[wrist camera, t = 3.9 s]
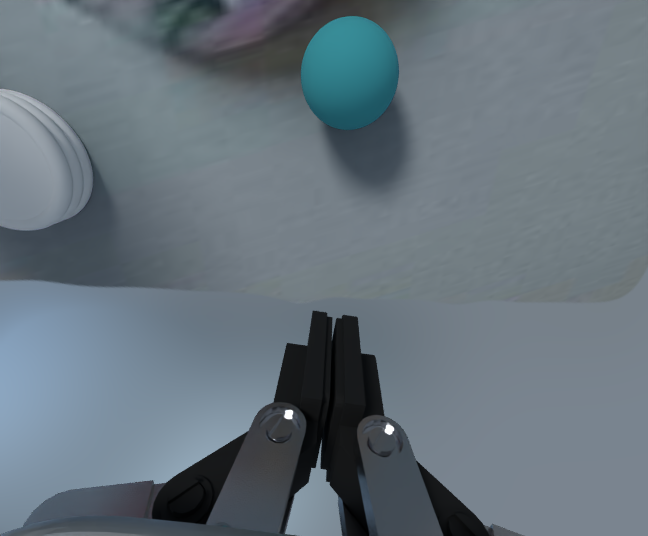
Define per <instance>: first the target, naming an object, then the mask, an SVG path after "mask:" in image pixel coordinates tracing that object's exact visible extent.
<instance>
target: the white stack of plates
mask: <svg viewBox="0 0 648 536" xmlns="http://www.w3.org/2000/svg"><path fill="white" fill-rule="evenodd" d="M92 189H93V171H92V166H91V162H90V159H89V156H88V154H87V151H86V149H85V147H84V145H83V143H82V142H81V140H80V139H79V137H78V136H77V134H76V133H75V132H74V130H73V129H72V128H71V127H70V125H69V124H68V123H67V122H66V121H65V120H64V119H63V118H62V117H61V116H60V115H58V114H57V113H56V112H55V111H54V110H52V109H51V108H49V107H48V106H46V105H45V104H43V103H42V102H40V101H38V100H36V99H34V98H32V97H30V96H27V95H25V94H22V93H19V92H16V91H12V90H6V89H0V226H2V227H5V228H9V229H14V230H22V231H31V230H40V229H44V228H47V227H49V226H51V225H53V224H56V223H59V222H61V221H63V220H66V219H69V218H71V217H73V216H75V215H76V214H77V213H79V212H80V211H81V210H82V209H83V208H84V207H85V205H86V204H87V202H88V200H89V198H90V196H91V193H92Z"/></svg>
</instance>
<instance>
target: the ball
mask: <svg viewBox="0 0 648 536" xmlns="http://www.w3.org/2000/svg"><path fill="white" fill-rule="evenodd" d="M398 77H399V64H398V58H397V54H396V51H395V48H394V45H393V43H392V41H391V40H390V38H389V36H388V35H387V34H386V32H385V31H384V30H383V29H382V28H381V27H380V26H379V25H377V24H376V23H374V22H372V21H370V20H368V19H366V18H362V17H357V16H347V17H342V18H338V19H336V20H333V21H331V22H329V23H328V24H326V25H325V26H324V27H322V28H321V29H320V30H319V31H318V32H317V33H316V34H315V36H314V37H313V38H312V40H311V41H310V43H309V45H308V47H307V49H306V51H305V54H304V57H303V61H302V67H301V83H302V89H303V93H304V96H305V99H306V101H307V103H308V105H309V107H310V109H311V110H312V111H313V113H314V114H315V115H316V116H317V117H318V118H319V119H320V120H321V121H323V122H324V123H326V124H327V125H329V126H331V127H334V128H337V129H342V130H354V129H359V128H362V127H365V126H367V125H369V124H371V123H372V122H374V121H375V120H376V119H378V118H379V117H380V116H381V115H382V114H383V113H384V112H385V110H386V109H387V108H388V106H389V105H390V103H391V101H392V99H393V97H394V94H395V91H396V88H397V84H398Z"/></svg>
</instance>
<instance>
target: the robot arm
mask: <svg viewBox="0 0 648 536" xmlns="http://www.w3.org/2000/svg"><path fill="white" fill-rule="evenodd" d="M321 440H322V448H321V469H326V470H327V475H326V481H327V482H330V486H331V487H332V488H333V489H334V491H335V492H336V493H337V494H338V506H339V514H340V522H341V530H342V536H523V535H520V534H518V533H515V532H513V531H510V530H507V529H505V528H502V527H500V526H497V525H494V524H492V525H491V527H488V526H485V525H483V523H482V522H481V521H480V520H479V519H478V518H477V517H476V515H475V514H474V513H472V512H471V511H470V510H469V509H468V508H467V507H466V506H465V505H464V504H463V503H462V502H461V501H460V500H458V499H457V498H456V497H455V496H454V495H453V494H452V493H451V492H450V491H449V490H447V488H445V487H444V486H443V485H442V484H441V483H440V482H439V481H438V480H437V479H436V478H435V477H434V476H432V475H431V474H430V473H429V472H428V471H427V470H426V469H425V468H424V467H423V466H422V465H420V463H418V462H417V461H416V459H415V456H414V454H413V451H412V449H411V445H410V443H409V440H408V437H407V436H406V434H405V432H404V430H403V429H402V428H401V426H400V425H399V424H397V423H396V422H395V421H393V420H392V419H390V418H388V417H385V416H384V410H383V404H382V397H381V390H380V383H379V377H378V370H377V363H376V358H375V356H374V355H369V354H362V353H361V349H360V338H359V327H358V318H357V317H354V316H347V315H343V316H342V319H340V318H337V319H336V323H335V328H334V334H333V339H332V317H327V313H326V312H319V311H313V313H312V319H311V326H310V333H309V339H308V346H305V345H297V344H290V343H287V345H286V350H285V354H284V358H283V363H282V367H281V371H280V376H279V380H278V385H277V390H276V394H275V398H274V403H271V404H269V405H266V406H265V407H263V408H262V409H261V410H260V411H259V412H258V413H257V415H256V416H255V418H254V420H253V423H252V425H251V427H250V429H249V431H248V432H246V433H245V434H243V435H241V436H239V437H238V438H236V439H235V440H233V441H231V442H230V443H228V444H226V445H225V446H223V447H222V448H220V449H218V450H217V451H215V452H213V453H212V454H210V455H208V456H207V457H205V458H204V459H202V460H200V461H199V462H197V463H195V464H194V465H192V466H190V467H189V468H187V469H186V470H184V471H182V472H181V473H179V474H177V475H176V476H174V477H173V478H172V479H171V480H169V481H168V482H167V483H162V484H154V482H153V480H152V481H144V482H135V483H127V484H117V485H109V486H100V487H91V488H82V489H74V490H68V491H65V492H61V493H58V494H56V495H55V496H53V497H51V498H49V499H47V500H45V501H44V502H43V503H42V504H41V505H40V506H39V507H37V508H36V509H35V510H34V511H33V512H32V514H31V515H30V516H29V518H28V519H27V521H26V522H25V523H24V525H23V527H21V528H18V529H15V530H11V531H8V532H5V533H3V534H0V536H295V535H287V534H285V531H286V527H287V523H288V519H289V516H290V512H291V508H292V504H293V500H294V495H295V493H297V492H298V491H299V490H300V489H301V488H302V487H304V486H305V485H306V484H307V483H308V482H309V476H310V472H311V468H315V467H316V463H317V458H318V454H319V448H320V444H321Z"/></svg>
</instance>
